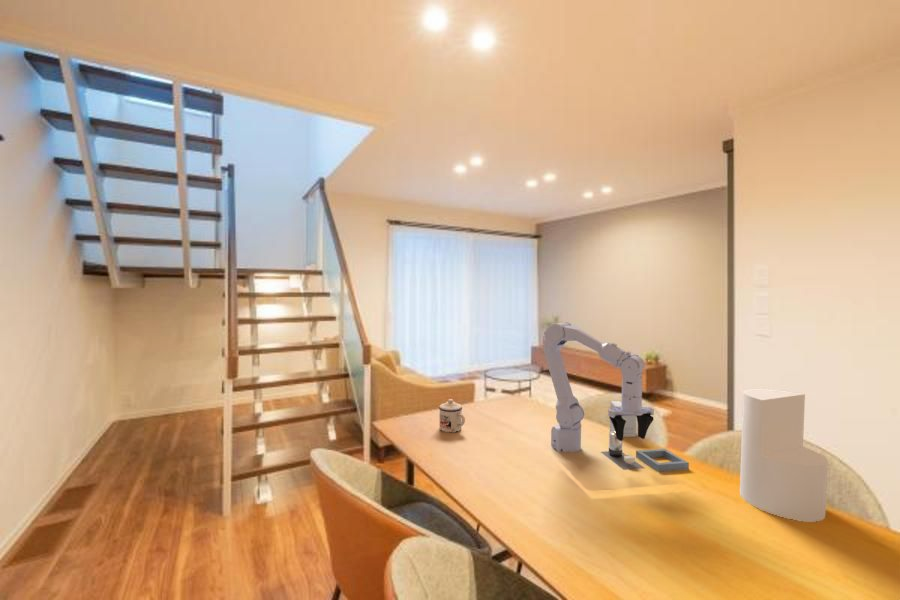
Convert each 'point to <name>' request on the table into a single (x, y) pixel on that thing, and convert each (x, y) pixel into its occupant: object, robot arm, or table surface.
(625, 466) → the base
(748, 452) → the white stepped block
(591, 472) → the table surface
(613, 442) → the battery cell
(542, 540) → the table surface
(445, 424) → the teacup with lid
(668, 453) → the bin
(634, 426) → the supplement box
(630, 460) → the test button
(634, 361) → the robot arm
